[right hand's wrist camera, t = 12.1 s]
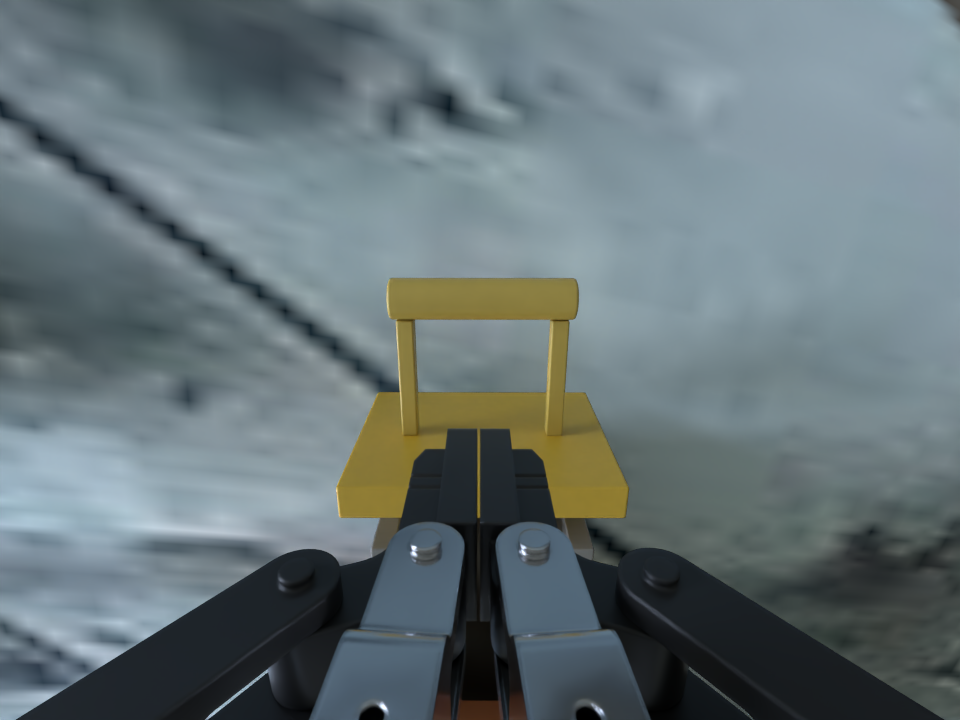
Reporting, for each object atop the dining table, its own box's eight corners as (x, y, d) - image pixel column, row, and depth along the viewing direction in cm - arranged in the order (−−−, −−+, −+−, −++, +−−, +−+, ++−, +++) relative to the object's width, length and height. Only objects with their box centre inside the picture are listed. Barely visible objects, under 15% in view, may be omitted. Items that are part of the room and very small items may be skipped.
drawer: (367, 258, 21) (313, 305, 14) (596, 259, 21) (652, 305, 14) (400, 689, 30) (376, 847, 23) (561, 690, 30) (585, 847, 23)
